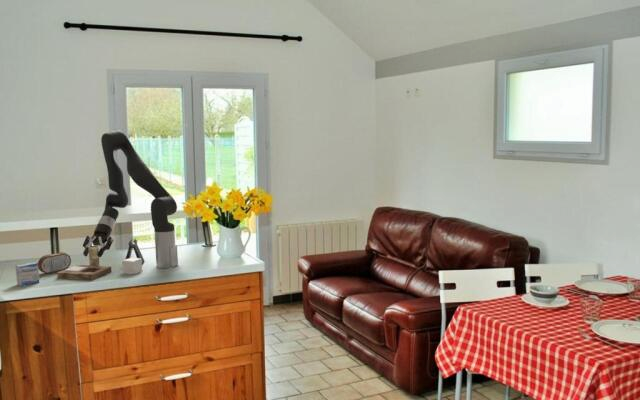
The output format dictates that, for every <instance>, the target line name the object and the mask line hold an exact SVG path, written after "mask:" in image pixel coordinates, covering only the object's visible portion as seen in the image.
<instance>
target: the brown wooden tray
mask: <svg viewBox="0 0 640 400" xmlns="http://www.w3.org/2000/svg"><path fill="white" fill-rule="evenodd" d="M74 266H79V267H87V268H85V269H83V270H80V271H64V270H62V271H57V273H56V274H57V279H68V280H81V281H82V280H85V281H93V280H96V279H98V278H101V277H103V276H105V275H108V274H109V273H112V266H105V265H102V266H101V265H100V266H90V264H89V265H86V264H85V265H84V264H77V265H73V266H72V267H74ZM65 270H66V269H65Z"/></svg>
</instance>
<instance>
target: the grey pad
mask: <svg viewBox="0 0 640 400" xmlns="http://www.w3.org/2000/svg"><path fill="white" fill-rule="evenodd" d="M73 266H74V267H73ZM73 266H71V267H68V268H67V269H66V270H64V271H80V270H83V269H85V268H87V267H79V266H76V265H73Z"/></svg>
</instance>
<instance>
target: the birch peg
mask: <svg viewBox="0 0 640 400" xmlns="http://www.w3.org/2000/svg"><path fill="white" fill-rule="evenodd" d="M88 248H89V253H88V259H89V266H101V265H100V257H98V255H97V254H98V252H99V250H100V248H99V245H97V246H91V245H90V246H89V247H88Z"/></svg>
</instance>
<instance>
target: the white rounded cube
mask: <svg viewBox="0 0 640 400" xmlns="http://www.w3.org/2000/svg"><path fill="white" fill-rule="evenodd" d="M125 259H126V258H125ZM125 259H123V260H122V270H123V271H122V273H123V274H127V275H129V274H130V275H136V274H137V273H140V272H142V271H143V265H142V259H141V258H137V257H130V258H129V259H126V260H125Z"/></svg>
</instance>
